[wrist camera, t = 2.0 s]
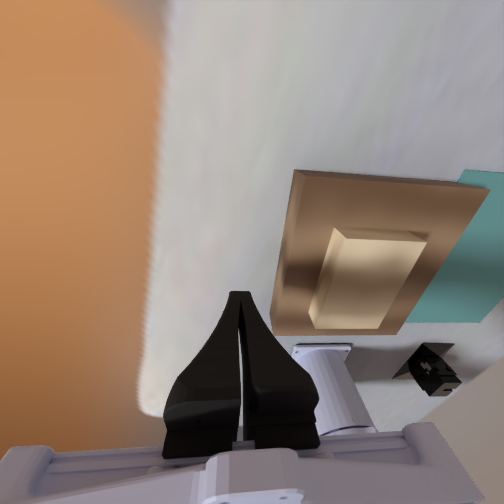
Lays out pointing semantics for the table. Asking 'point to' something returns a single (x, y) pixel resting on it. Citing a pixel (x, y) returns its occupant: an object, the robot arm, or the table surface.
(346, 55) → the table surface
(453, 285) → the teal mat
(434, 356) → the black slotted bracket
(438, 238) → the walnut board
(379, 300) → the beech tile
